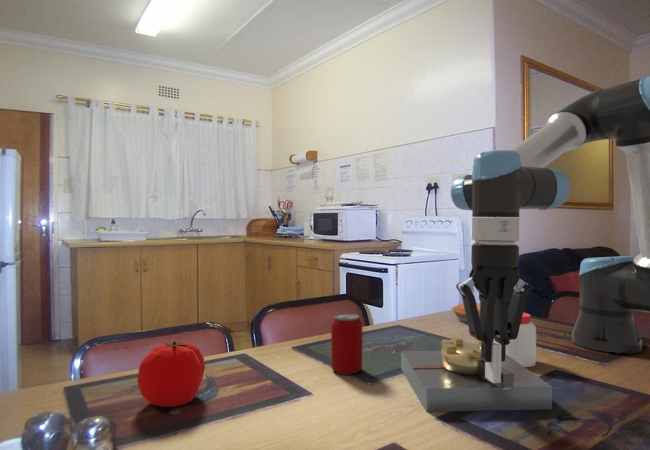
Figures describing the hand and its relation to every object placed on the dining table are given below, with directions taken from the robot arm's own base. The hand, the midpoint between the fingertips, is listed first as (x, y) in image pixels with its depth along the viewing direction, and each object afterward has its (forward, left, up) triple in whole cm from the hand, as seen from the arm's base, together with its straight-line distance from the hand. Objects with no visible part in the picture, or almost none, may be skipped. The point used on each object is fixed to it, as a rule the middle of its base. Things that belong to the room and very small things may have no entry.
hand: (492, 379), depth 71 cm
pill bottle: (-17, -24, -6) cm, 30 cm away
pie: (-23, -62, -6) cm, 67 cm away
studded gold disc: (0, -7, -1) cm, 7 cm away
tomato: (+56, -6, -6) cm, 57 cm away
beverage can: (+23, -20, -6) cm, 32 cm away
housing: (0, -10, -6) cm, 12 cm away
